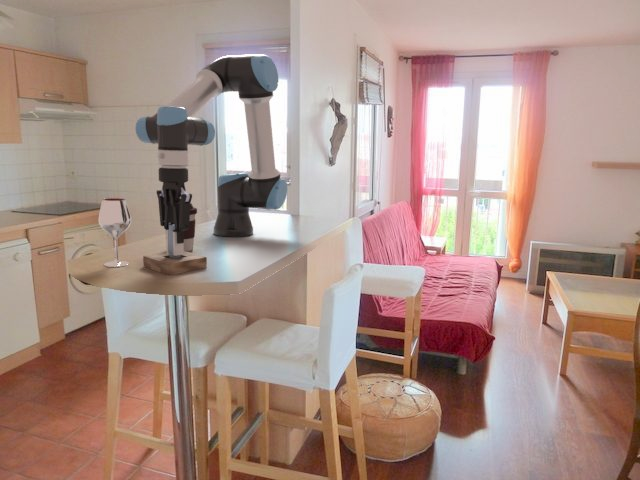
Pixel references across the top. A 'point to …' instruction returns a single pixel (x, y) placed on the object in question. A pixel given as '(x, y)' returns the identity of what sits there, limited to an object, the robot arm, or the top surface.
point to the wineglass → (114, 223)
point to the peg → (171, 256)
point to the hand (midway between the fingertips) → (175, 253)
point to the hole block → (174, 263)
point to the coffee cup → (190, 230)
